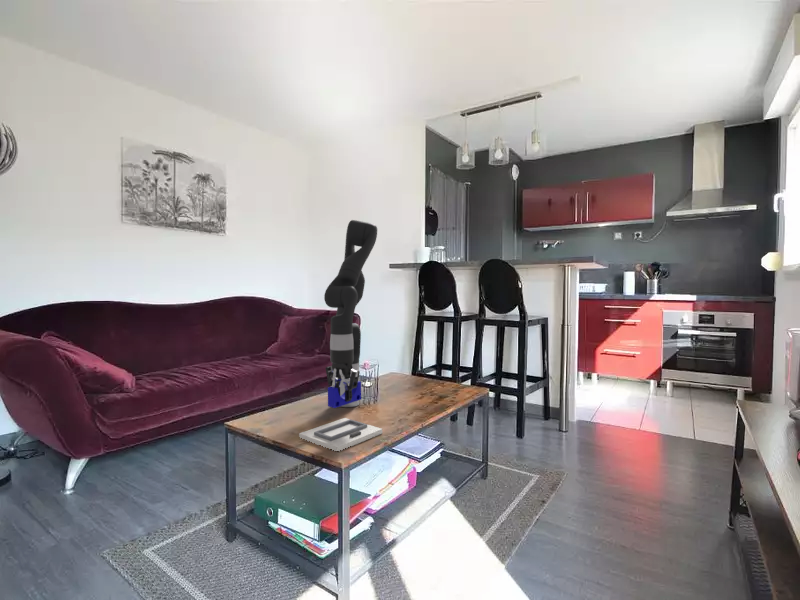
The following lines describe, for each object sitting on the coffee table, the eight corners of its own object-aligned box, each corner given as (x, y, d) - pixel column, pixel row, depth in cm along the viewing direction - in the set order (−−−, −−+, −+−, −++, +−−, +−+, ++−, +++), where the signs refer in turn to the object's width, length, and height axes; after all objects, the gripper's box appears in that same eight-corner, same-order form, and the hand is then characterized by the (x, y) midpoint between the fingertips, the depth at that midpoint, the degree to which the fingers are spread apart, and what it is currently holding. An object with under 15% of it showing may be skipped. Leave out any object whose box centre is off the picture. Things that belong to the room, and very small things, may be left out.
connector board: (299, 437, 136) (299, 430, 136) (344, 421, 151) (344, 415, 151) (337, 452, 124) (337, 443, 124) (382, 433, 140) (382, 425, 140)
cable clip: (351, 397, 144) (351, 379, 143) (361, 399, 141) (361, 381, 141) (324, 405, 134) (324, 386, 134) (334, 408, 131) (334, 389, 131)
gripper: (365, 348, 135) (366, 400, 136) (335, 344, 144) (336, 394, 145) (349, 351, 129) (349, 406, 130) (318, 347, 138) (319, 398, 139)
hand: (342, 399), depth 137 cm, fingers closed on cable clip, 4 cm apart
